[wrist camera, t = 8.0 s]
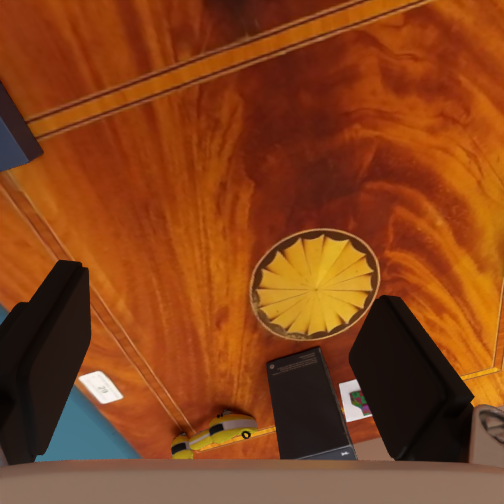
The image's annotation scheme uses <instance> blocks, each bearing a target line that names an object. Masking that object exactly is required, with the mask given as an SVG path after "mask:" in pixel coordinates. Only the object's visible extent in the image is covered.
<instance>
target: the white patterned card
mask: <svg viewBox="0 0 504 504" xmlns="http://www.w3.org/2000/svg"><path fill="white" fill-rule="evenodd" d="M349 399H350V404H351V405H352V406H354V407H356V408H358V409H360V410H361V413H362V415H363V416H364V417H369V416H372V414H371V412H370V410H369V407H368V405H367V403H366V400H365V398H364V396H363V393H362V391H361V390H357V391H353V392H350V393H349Z"/></svg>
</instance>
